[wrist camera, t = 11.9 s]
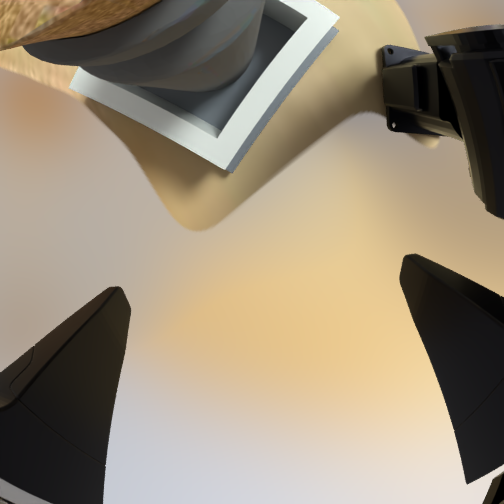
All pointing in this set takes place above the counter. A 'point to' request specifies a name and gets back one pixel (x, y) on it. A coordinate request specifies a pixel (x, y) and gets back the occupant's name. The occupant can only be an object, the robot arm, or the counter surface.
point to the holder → (228, 87)
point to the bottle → (139, 38)
